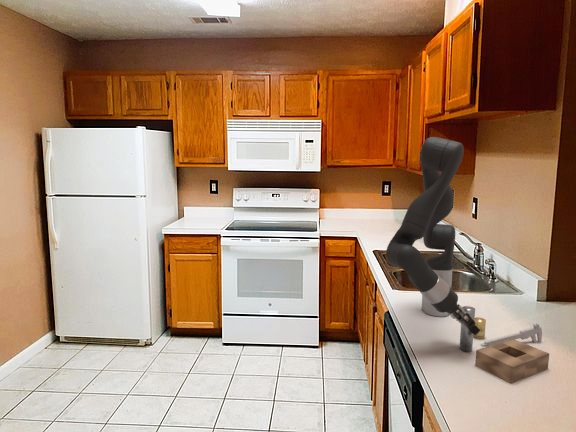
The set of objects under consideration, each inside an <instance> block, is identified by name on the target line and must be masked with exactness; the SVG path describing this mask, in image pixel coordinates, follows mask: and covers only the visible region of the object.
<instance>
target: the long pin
mask: <svg viewBox="0 0 576 432" xmlns="http://www.w3.org/2000/svg"><path fill="white" fill-rule="evenodd" d="M461 307H462V308H463V310H464V311H465V312H466V313H468V314H469V315H470V316H471V318H472V319H473V320H474V319H475V318H476V316H475V315H476V308H475V307H473V306H469V305H463V306H461ZM473 343H474V338H473V333H472V332H471V331H470V330H469V329H468V328H466V327H465V325H464V324H461V323H460V335H459V347H458V348H459V350H460V351H462V352H465V353H471V352H473Z"/></svg>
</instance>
